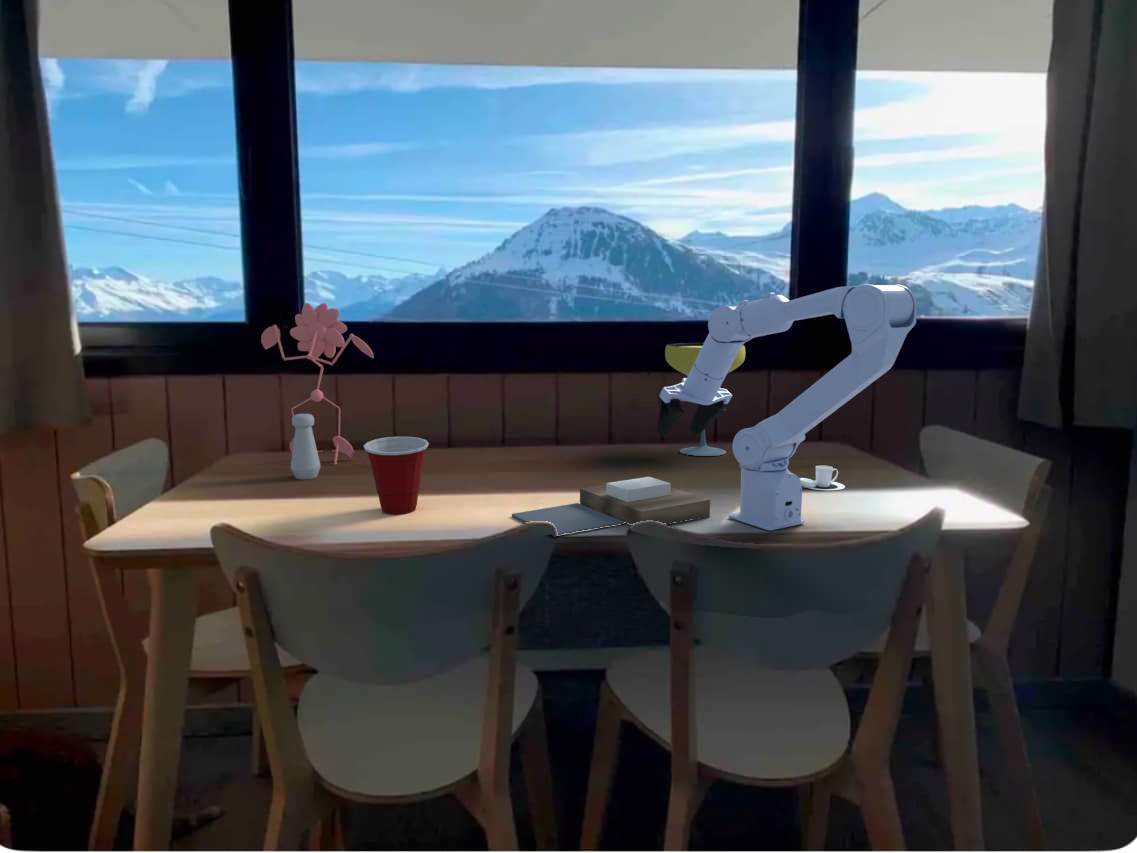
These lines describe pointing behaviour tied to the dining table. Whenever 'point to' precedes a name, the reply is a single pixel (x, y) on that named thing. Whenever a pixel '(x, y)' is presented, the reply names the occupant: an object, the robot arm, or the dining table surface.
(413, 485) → the plastic cup
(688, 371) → the cocktail glass
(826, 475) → the teacup and saucer
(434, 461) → the dining table surface
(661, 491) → the pale grey flat block
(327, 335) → the figurine
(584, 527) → the mat
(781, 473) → the robot arm
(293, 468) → the salt shaker
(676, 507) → the deck
